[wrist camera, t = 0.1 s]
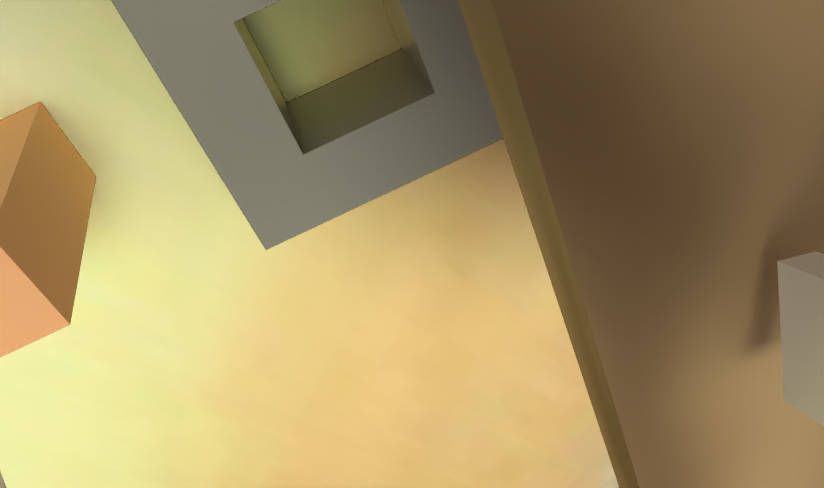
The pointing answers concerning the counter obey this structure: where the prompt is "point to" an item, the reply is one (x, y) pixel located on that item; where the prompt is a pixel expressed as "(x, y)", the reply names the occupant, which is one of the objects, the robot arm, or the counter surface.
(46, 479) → the counter surface
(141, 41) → the socket
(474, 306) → the counter surface
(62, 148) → the peg
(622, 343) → the wooden l-shaped bracket
